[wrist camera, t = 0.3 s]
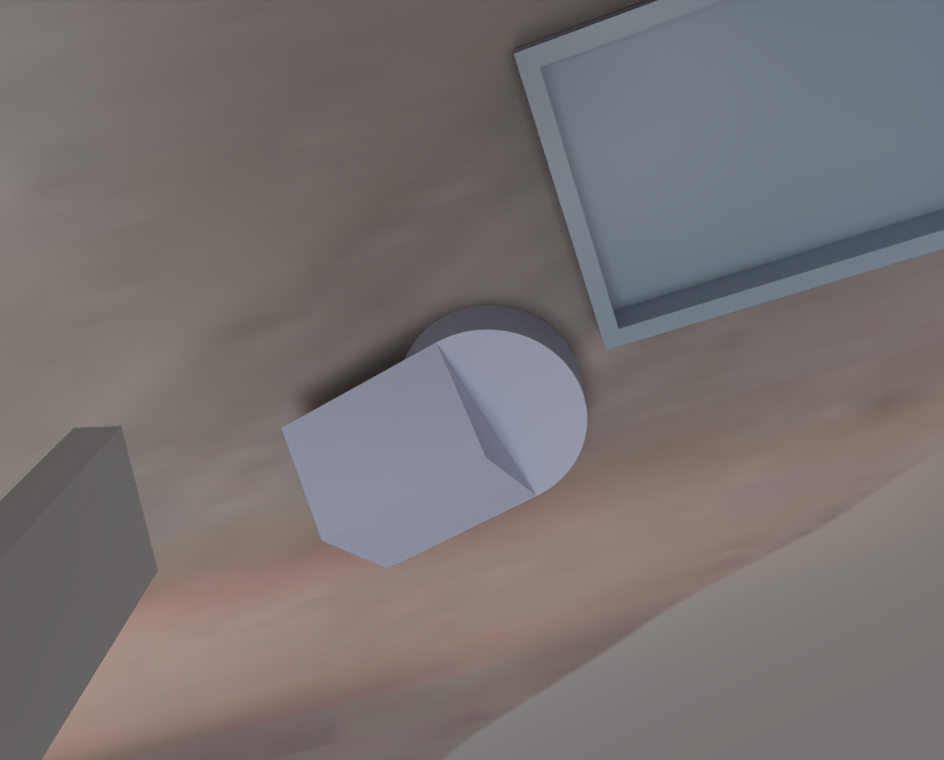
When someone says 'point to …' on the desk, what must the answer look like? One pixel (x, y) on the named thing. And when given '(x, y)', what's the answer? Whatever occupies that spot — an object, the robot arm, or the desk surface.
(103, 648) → the robot arm
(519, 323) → the wedge on round base
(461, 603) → the desk surface
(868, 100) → the tray
